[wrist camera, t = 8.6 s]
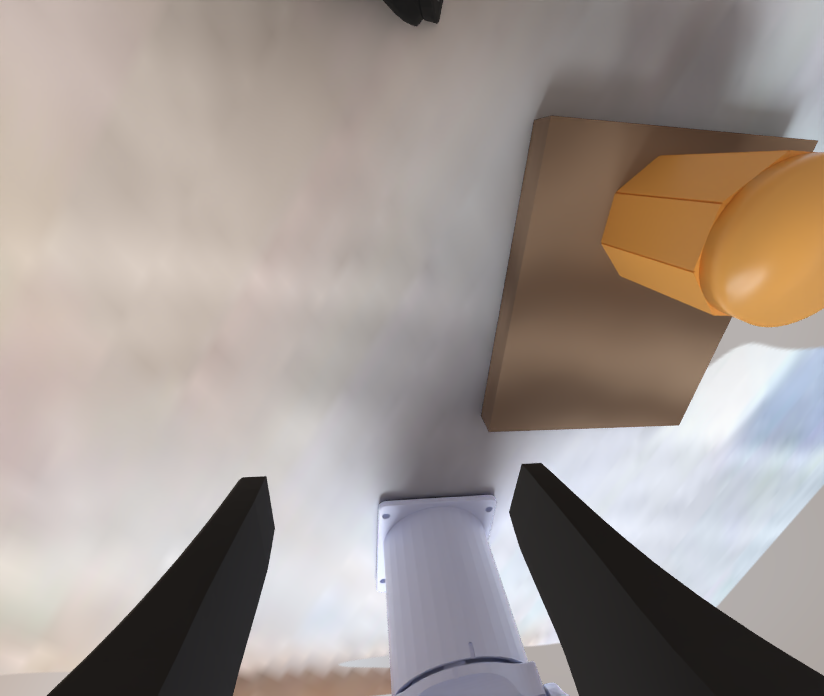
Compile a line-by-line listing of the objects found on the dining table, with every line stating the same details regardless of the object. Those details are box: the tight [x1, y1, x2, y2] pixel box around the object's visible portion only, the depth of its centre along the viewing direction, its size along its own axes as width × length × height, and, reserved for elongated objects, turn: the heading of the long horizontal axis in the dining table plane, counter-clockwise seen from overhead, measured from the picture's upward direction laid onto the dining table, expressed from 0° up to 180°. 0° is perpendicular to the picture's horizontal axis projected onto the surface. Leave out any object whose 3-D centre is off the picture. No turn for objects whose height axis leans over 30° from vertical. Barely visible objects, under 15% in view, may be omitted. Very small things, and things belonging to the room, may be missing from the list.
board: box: [481, 116, 818, 432], centre depth 16 cm, size 15×12×6 cm
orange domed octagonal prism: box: [601, 150, 824, 327], centre depth 13 cm, size 5×5×6 cm
